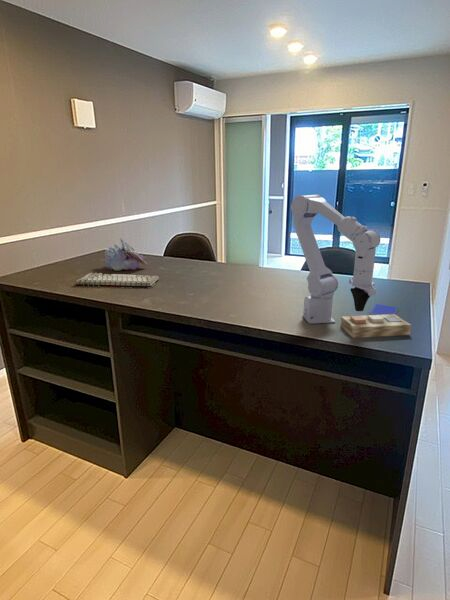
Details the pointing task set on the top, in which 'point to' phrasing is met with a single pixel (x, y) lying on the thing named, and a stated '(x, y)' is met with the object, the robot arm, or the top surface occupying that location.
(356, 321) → the terracotta key
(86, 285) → the mechanical keyboard
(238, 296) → the top surface
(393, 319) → the slate key
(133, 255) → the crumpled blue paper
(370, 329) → the key panel
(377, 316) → the white key
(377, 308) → the hard drive
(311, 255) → the robot arm
